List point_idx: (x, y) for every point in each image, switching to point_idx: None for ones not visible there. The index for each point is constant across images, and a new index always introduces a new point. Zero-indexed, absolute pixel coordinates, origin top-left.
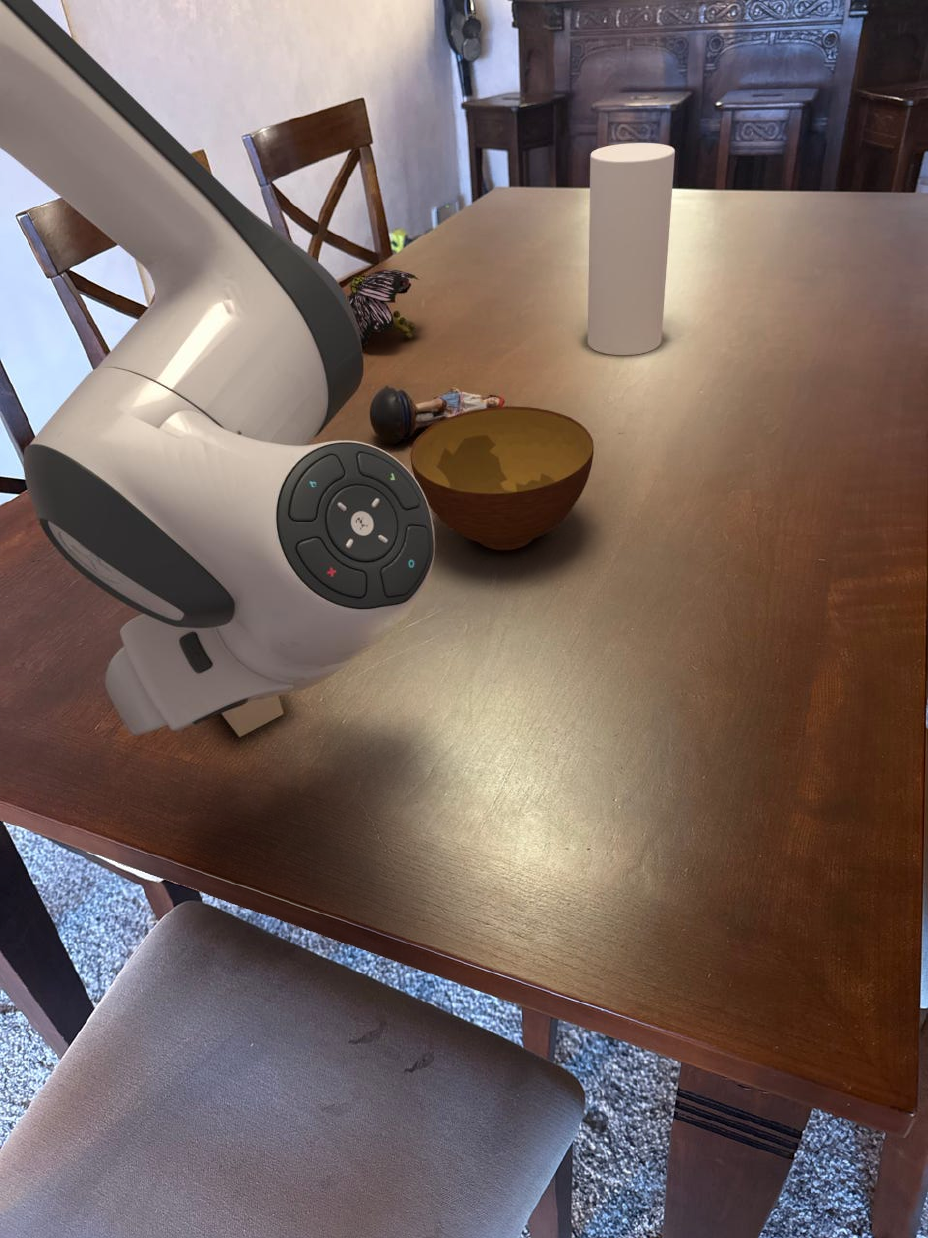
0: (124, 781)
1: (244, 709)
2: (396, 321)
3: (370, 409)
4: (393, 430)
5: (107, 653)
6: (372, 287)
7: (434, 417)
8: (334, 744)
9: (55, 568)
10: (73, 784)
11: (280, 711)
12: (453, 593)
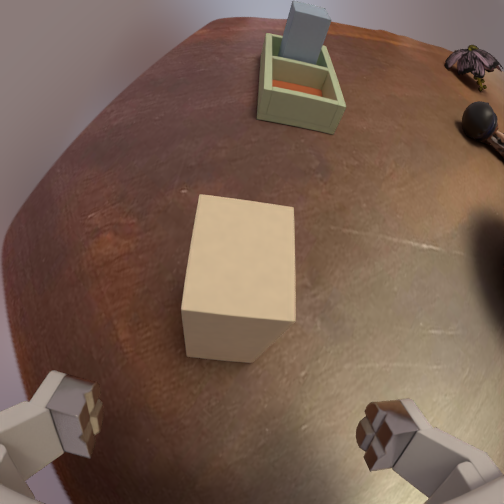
0: (59, 307)
1: (205, 350)
2: (479, 78)
3: (470, 106)
4: (478, 130)
5: (164, 139)
6: (482, 55)
7: (499, 144)
8: (273, 453)
9: (201, 55)
10: (31, 268)
11: (250, 361)
12: (474, 318)
